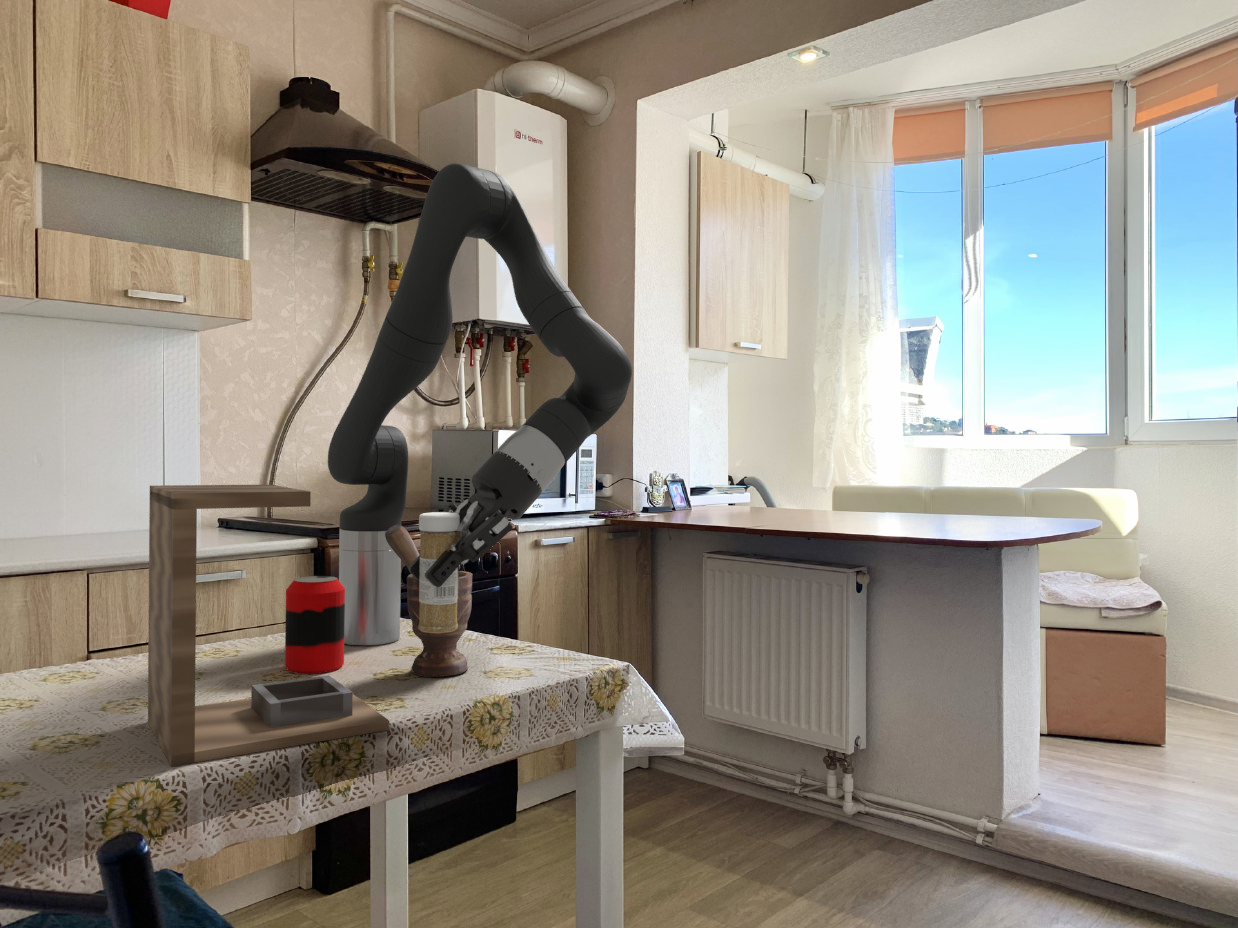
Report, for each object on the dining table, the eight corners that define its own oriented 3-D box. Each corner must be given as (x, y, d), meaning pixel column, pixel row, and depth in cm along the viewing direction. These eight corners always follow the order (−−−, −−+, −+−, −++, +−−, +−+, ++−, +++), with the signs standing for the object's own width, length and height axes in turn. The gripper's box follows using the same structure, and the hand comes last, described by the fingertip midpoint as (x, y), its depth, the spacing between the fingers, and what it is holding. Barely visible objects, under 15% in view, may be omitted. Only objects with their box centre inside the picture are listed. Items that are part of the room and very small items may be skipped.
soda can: (352, 661, 126) (353, 575, 125) (330, 675, 118) (331, 584, 118) (300, 659, 126) (301, 574, 126) (274, 673, 119) (275, 582, 119)
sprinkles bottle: (456, 625, 106) (458, 511, 106) (459, 633, 102) (461, 515, 101) (416, 626, 105) (418, 511, 105) (418, 635, 101) (419, 514, 100)
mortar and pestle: (422, 688, 113) (424, 528, 112) (374, 677, 117) (376, 524, 117) (483, 669, 122) (486, 522, 122) (437, 660, 127) (439, 519, 127)
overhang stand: (147, 721, 97) (149, 485, 97) (342, 694, 109) (344, 483, 109) (171, 766, 84) (173, 493, 84) (389, 729, 96) (392, 490, 96)
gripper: (473, 447, 113) (377, 549, 106) (529, 451, 101) (425, 565, 95) (510, 489, 116) (419, 590, 110) (568, 497, 104) (470, 611, 98)
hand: (422, 578), depth 102 cm, fingers closed on sprinkles bottle, 4 cm apart
